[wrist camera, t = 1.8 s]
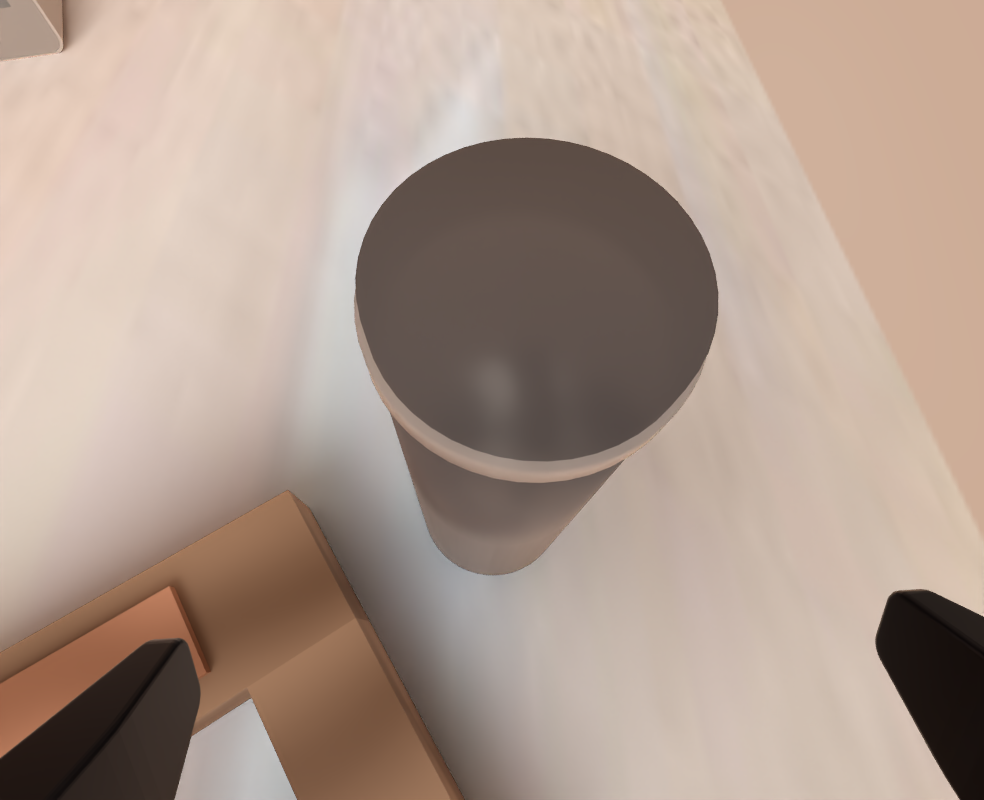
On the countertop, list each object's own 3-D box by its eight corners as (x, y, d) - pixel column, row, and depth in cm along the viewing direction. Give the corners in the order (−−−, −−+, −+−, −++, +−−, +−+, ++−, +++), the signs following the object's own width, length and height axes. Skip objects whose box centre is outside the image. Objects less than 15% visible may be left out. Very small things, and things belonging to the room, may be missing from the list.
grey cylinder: (591, 526, 19) (805, 331, 7) (469, 608, 18) (479, 540, 6) (512, 413, 20) (580, 86, 8) (395, 482, 19) (281, 221, 7)
